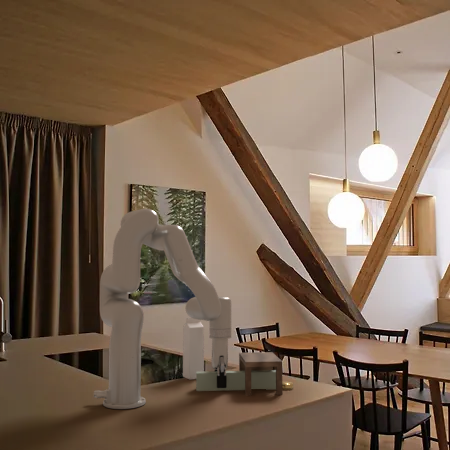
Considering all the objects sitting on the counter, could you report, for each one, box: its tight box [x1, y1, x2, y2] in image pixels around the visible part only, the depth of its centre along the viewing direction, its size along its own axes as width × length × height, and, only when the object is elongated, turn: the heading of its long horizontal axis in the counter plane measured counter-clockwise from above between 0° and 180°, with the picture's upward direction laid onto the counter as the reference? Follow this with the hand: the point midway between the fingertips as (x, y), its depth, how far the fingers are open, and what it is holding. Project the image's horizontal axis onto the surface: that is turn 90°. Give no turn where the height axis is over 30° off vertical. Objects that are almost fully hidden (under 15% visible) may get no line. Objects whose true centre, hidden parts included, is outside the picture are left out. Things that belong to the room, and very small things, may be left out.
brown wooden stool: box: [238, 351, 284, 396], centre depth 180 cm, size 12×18×11 cm, turn 5°
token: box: [282, 381, 294, 391], centre depth 180 cm, size 5×5×2 cm
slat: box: [195, 369, 276, 392], centre depth 179 cm, size 28×3×6 cm, turn 95°
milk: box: [182, 317, 205, 381], centre depth 198 cm, size 6×6×22 cm
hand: (220, 384), depth 178 cm, fingers open, 9 cm apart
